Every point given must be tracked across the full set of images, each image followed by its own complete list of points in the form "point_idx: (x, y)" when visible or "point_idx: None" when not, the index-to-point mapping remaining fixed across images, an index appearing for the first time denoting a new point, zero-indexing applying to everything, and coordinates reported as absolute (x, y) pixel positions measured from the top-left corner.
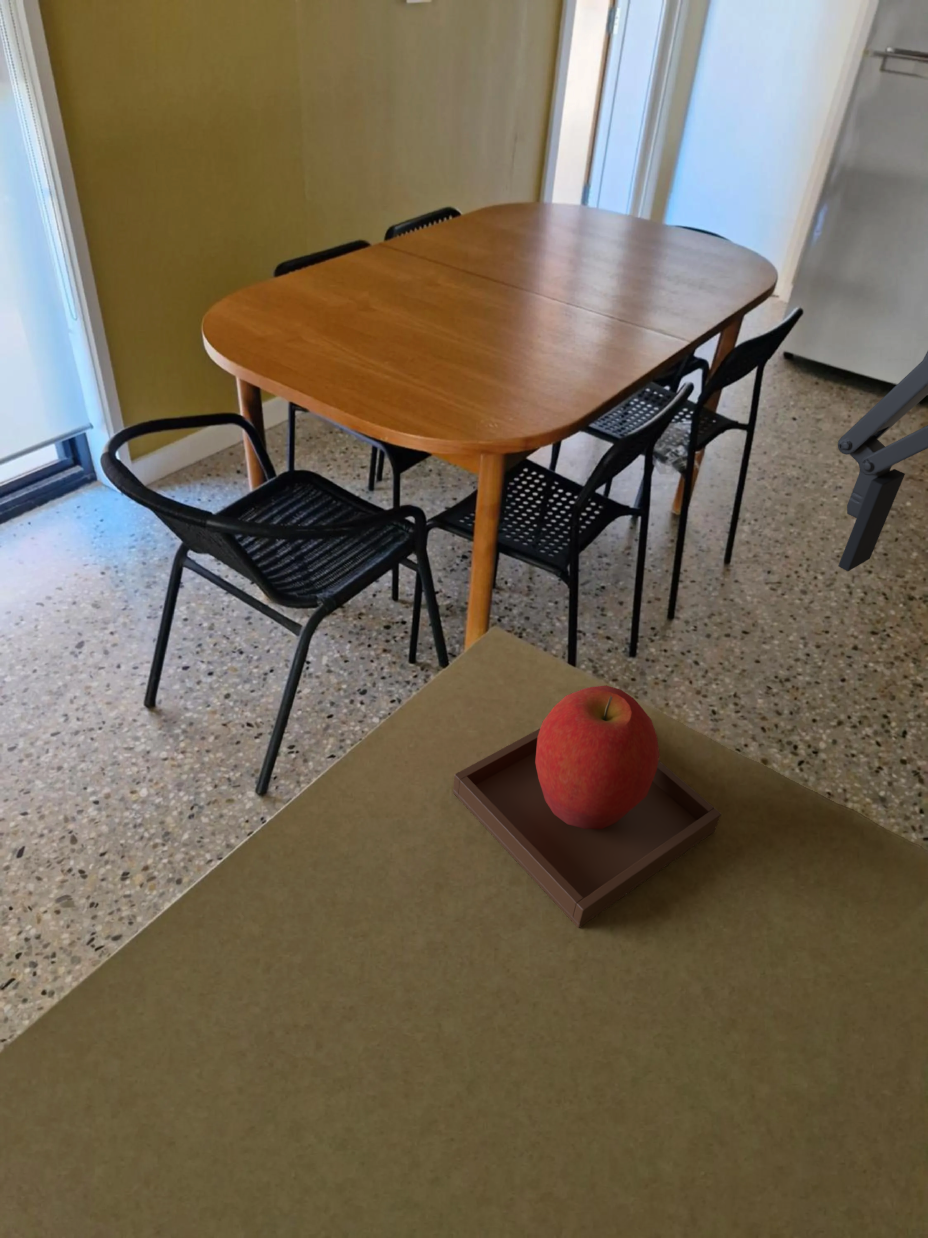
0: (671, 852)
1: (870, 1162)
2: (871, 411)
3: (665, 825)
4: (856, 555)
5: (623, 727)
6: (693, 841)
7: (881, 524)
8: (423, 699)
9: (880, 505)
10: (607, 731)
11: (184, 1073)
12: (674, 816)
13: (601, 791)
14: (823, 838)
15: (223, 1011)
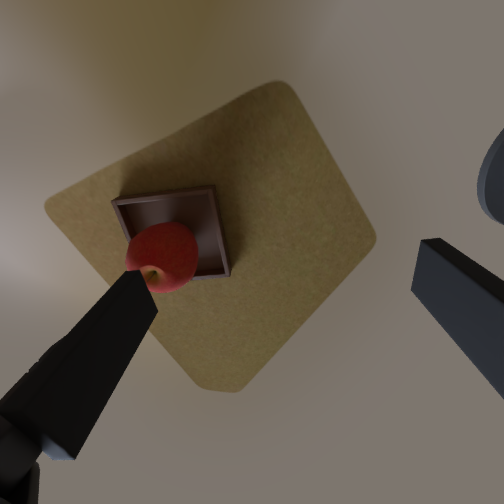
0: (220, 224)
1: (357, 238)
2: None
3: (202, 208)
4: (146, 321)
5: (167, 276)
6: (217, 205)
7: (110, 319)
8: (88, 261)
9: (96, 385)
10: (167, 284)
11: (222, 367)
12: (199, 200)
13: (192, 277)
14: (245, 127)
15: (209, 357)
